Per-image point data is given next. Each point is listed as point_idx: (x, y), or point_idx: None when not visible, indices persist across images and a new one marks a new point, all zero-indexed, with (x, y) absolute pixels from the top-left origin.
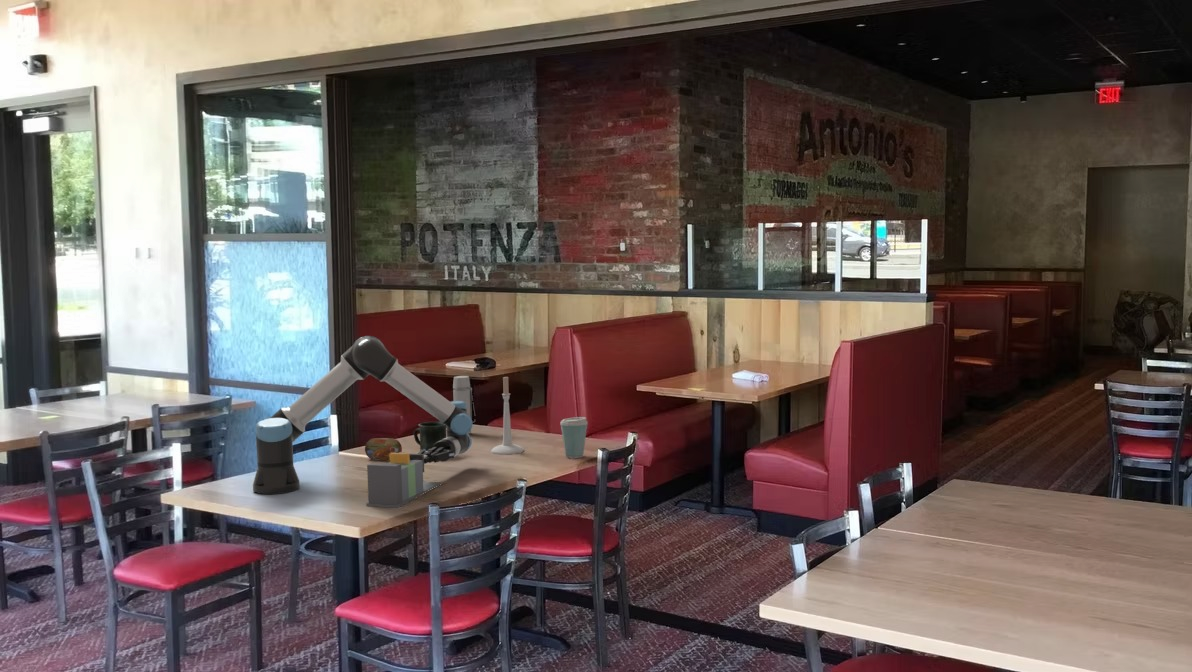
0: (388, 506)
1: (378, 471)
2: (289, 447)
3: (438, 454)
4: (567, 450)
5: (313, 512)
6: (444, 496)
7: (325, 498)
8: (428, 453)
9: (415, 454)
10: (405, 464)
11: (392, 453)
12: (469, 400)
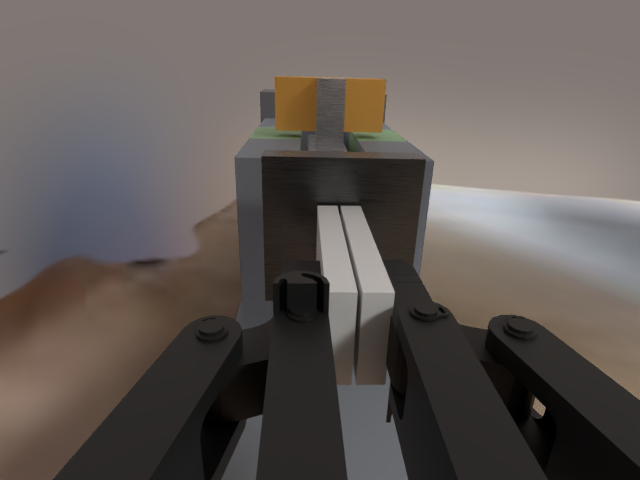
0: None
1: None
2: None
3: (158, 376)
4: None
5: (458, 199)
6: (107, 324)
7: (587, 256)
8: (304, 271)
9: (331, 152)
10: (291, 134)
11: (367, 78)
12: None
